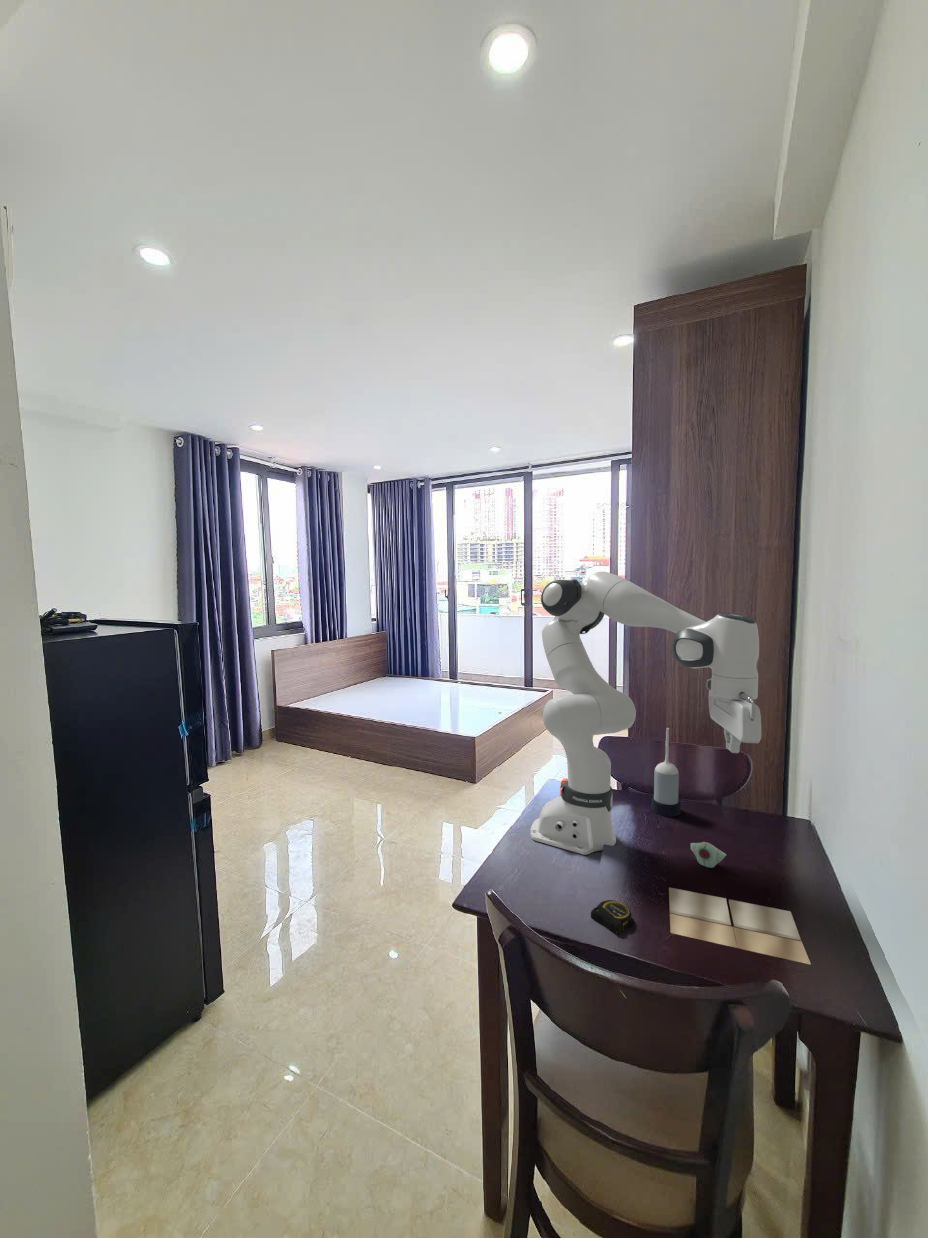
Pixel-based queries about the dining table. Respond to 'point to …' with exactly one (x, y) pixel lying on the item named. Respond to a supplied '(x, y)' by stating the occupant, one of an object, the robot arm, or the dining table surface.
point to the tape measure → (613, 916)
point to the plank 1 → (699, 906)
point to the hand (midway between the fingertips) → (732, 751)
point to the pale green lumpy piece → (707, 854)
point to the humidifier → (666, 787)
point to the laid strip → (739, 938)
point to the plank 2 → (763, 919)
